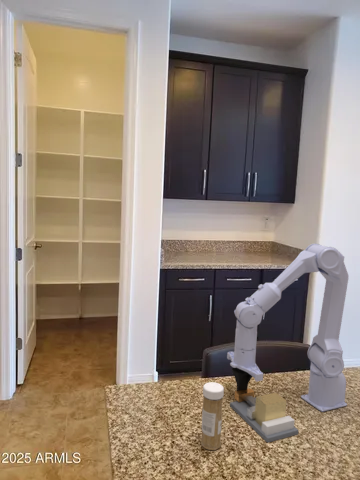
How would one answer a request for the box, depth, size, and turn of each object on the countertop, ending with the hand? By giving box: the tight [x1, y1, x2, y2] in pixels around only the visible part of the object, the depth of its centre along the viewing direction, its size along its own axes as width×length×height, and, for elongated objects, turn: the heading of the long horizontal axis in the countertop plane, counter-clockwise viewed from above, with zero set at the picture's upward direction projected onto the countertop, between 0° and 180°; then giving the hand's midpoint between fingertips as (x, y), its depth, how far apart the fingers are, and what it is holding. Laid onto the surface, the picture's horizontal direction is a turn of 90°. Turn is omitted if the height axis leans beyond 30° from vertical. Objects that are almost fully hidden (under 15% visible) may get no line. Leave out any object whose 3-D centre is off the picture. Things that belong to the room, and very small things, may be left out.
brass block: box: [254, 392, 287, 427], centre depth 87 cm, size 6×4×6 cm, turn 114°
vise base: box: [229, 396, 299, 443], centre depth 90 cm, size 9×16×3 cm, turn 24°
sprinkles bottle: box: [200, 381, 225, 451], centre depth 79 cm, size 5×5×14 cm
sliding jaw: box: [234, 388, 256, 420], centre depth 93 cm, size 8×10×2 cm
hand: (242, 394), depth 98 cm, fingers closed, pressing on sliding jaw
